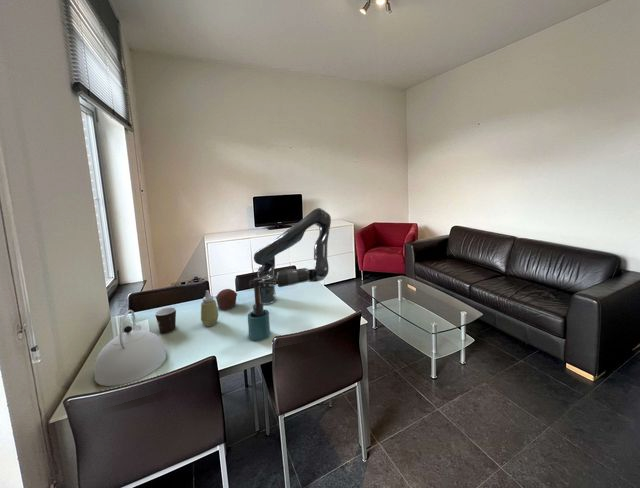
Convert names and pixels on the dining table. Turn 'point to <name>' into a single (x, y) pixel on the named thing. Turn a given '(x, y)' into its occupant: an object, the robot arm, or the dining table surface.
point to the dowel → (257, 302)
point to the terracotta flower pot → (226, 299)
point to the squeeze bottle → (209, 310)
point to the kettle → (129, 356)
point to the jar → (258, 326)
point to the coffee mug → (166, 319)
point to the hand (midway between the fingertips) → (249, 284)
